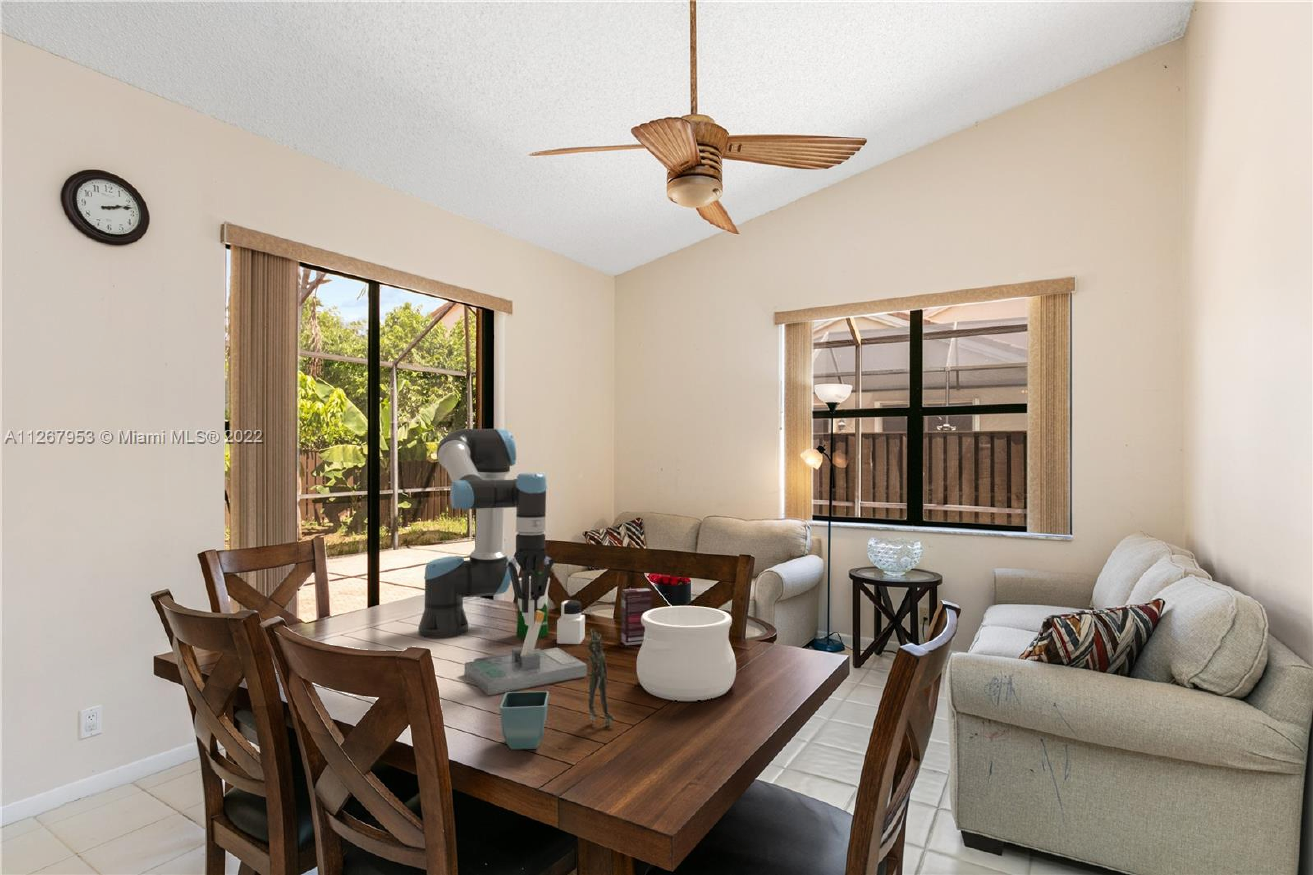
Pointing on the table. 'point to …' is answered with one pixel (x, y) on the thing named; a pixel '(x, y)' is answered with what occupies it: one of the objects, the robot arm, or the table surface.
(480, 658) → the cords
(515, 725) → the flower pot
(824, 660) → the table surface
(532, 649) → the lever
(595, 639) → the statue
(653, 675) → the pot
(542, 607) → the milk carton
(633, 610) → the supplement box
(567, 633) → the medicine bottle
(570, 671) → the panel
